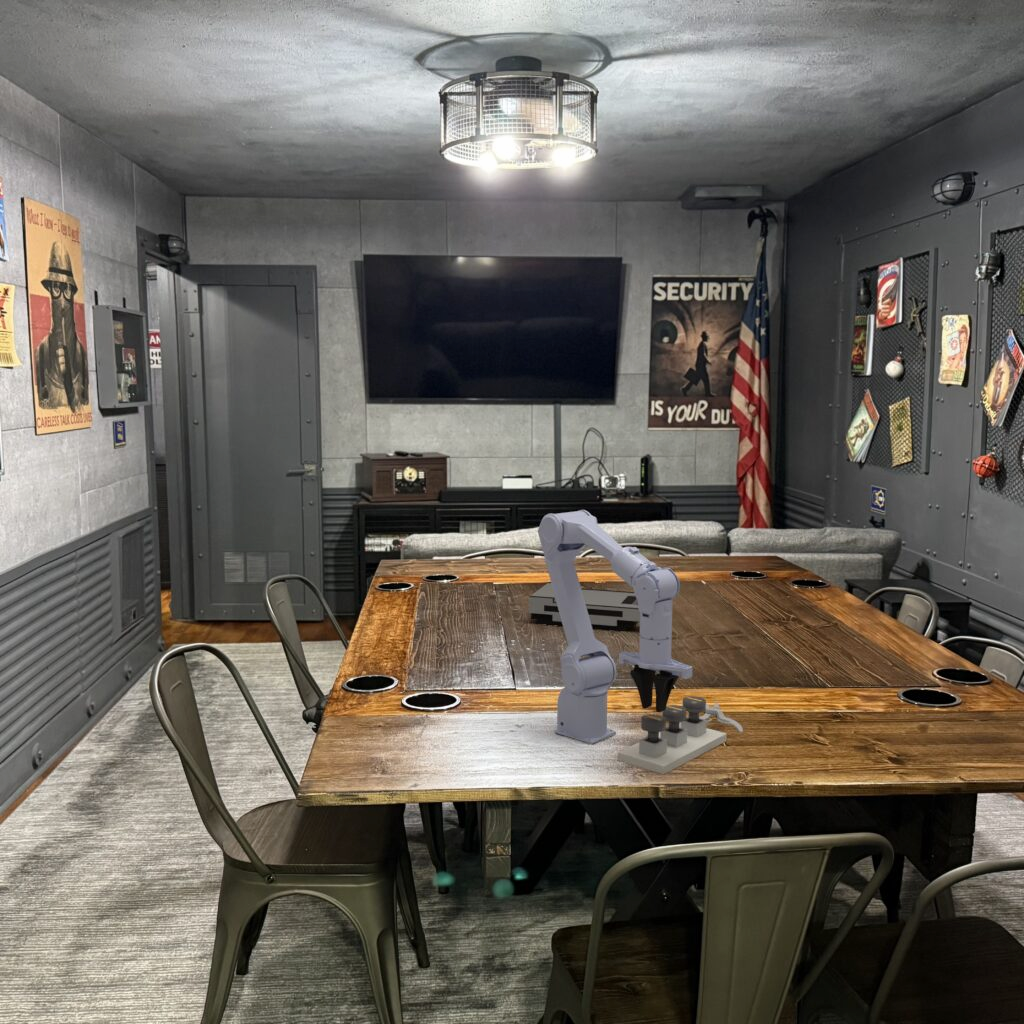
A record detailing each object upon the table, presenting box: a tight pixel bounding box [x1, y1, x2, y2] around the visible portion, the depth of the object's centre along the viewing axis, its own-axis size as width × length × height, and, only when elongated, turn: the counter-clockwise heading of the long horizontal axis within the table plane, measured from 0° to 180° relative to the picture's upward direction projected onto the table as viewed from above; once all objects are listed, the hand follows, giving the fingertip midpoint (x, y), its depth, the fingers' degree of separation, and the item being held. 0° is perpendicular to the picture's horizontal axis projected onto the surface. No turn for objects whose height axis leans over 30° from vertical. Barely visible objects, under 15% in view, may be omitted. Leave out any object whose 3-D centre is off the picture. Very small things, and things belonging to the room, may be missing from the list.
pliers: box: [699, 702, 744, 734], centre depth 212 cm, size 10×2×15 cm
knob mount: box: [617, 716, 728, 775], centre depth 195 cm, size 10×22×4 cm, turn 139°
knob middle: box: [661, 704, 687, 732], centre depth 194 cm, size 4×4×4 cm
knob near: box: [640, 713, 667, 743], centre depth 189 cm, size 4×4×4 cm
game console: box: [528, 581, 640, 632], centre depth 293 cm, size 21×32×8 cm, turn 72°
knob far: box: [682, 695, 707, 723], centre depth 199 cm, size 4×4×4 cm
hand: (653, 708), depth 188 cm, fingers open, 2 cm apart
